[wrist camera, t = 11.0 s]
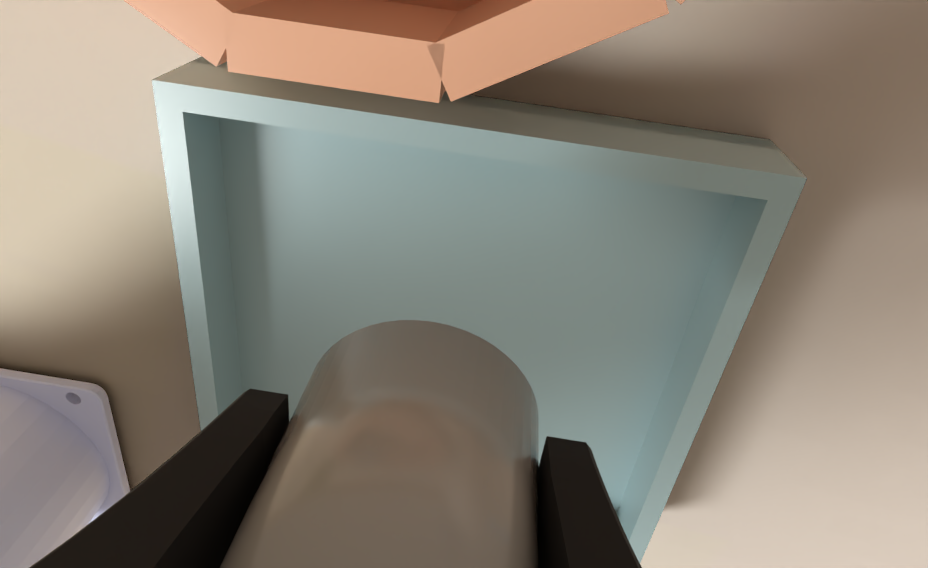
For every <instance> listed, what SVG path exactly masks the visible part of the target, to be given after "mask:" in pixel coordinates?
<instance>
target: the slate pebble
mask: <svg viewBox="0 0 928 568" xmlns="http://www.w3.org/2000/svg"><path fill="white" fill-rule="evenodd" d="M220 568H539V418H538V407H537V402H536V398H535V396H534V393H533V390H532V388H531V386H530V384H529V382H528V381H527V379H526V377H525V375H524V374H523V373H522V372H521V370H520V369H519V368H518V366H517V365H516V364H515V363H514V362H513V361H512V360H511V359H510V358H509V357H508V356H507V355H506V354H504V353H503V352H502V351H500V350H499V349H498V348H497V347H495V346H494V345H492V344H491V343H489V342H487V341H486V340H484V339H482V338H481V337H479V336H476V335H474V334H472V333H470V332H468V331H465V330H462V329H459V328H456V327H453V326H450V325H446V324H441V323H436V322H431V321H421V320H397V321H388V322H382V323H378V324H374V325H370V326H367V327H364V328H362V329H359V330H356V331H354V332H352V333H350V334H349V335H347V336H345V337H343V338H342V339H340V340H339V341H338V342H336V343H335V344H334V345H332V346H331V347H330V348H329V350H328V351H327V352H326V353H325V354H324V355H323V356H322V358H321V359H320V360H319V362H318V363H317V365H316V367H315V369H314V371H313V373H312V375H311V377H310V380H309V382H308V384H307V386H306V388H305V390H304V392H303V394H302V396H301V398H300V400H299V403H298V405H297V407H296V409H295V411H294V413H293V415H292V417H291V419H290V421H289V423H288V426H287V428H286V430H285V432H284V434H283V436H282V438H281V440H280V442H279V444H278V446H277V449H276V451H275V453H274V455H273V457H272V459H271V461H270V463H269V465H268V467H267V470H266V472H265V474H264V476H263V478H262V480H261V482H260V484H259V486H258V488H257V490H256V493H255V495H254V497H253V499H252V501H251V503H250V505H249V507H248V509H247V511H246V513H245V516H244V518H243V520H242V522H241V524H240V526H239V528H238V530H237V532H236V534H235V536H234V539H233V541H232V543H231V545H230V547H229V549H228V551H227V553H226V555H225V557H224V559H223V562H222V564H221V566H220Z"/></svg>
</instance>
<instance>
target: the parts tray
mask: <svg viewBox="0 0 928 568" xmlns="http://www.w3.org/2000/svg"><path fill="white" fill-rule="evenodd" d="M152 85H153V92H154V99H155V107H156V114H157V121H158V128H159V135H160V142H161V150H162V157H163V164H164V171H165V178H166V185H167V193H168V200H169V207H170V214H171V221H172V228H173V236H174V243H175V250H176V257H177V264H178V271H179V279H180V286H181V293H182V300H183V307H184V314H185V322H186V329H187V336H188V343H189V350H190V357H191V365H192V372H193V379H194V386H195V393H196V400H197V408H198V415H199V422H200V429H201V431H202V430H203V429H204V428H205V427H206V426H207V425H208V424H210V423H211V422H212V421H213V420H214V419H215V418H216V417H217V416H218V415H220V414H221V413H222V412H223V411H224V410H225V409H226V408H227V407H228V406H229V405H231V404H232V403H233V402H234V401H235V400H236V399H237V398H238V397H239V396H240V395H242V394H243V393H244V392H245V391H247V390H249V389H257V390H263V391H269V392H275V393H281V394H288V402H289V421H290V419H291V417H292V415H293V413H294V411H295V409H296V407H297V405H298V403H299V400H300V398H301V396H302V394H303V392H304V390H305V388H306V386H307V384H308V382H309V380H310V377H311V375H312V373H313V371H314V369H315V367H316V365H317V363H318V362H319V360H320V359H321V358H322V356H323V355H324V354H325V353H326V352H327V351H328V350H329V348H330V347H331V346H332V345H334V344H335V343H336V342H338V341H339V340H340V339H342V338H343V337H345V336H347V335H349V334H350V333H352V332H354V331H356V330H359V329H362V328H364V327H367V326H370V325H374V324H378V323H382V322H388V321H397V320H421V321H431V322H436V323H441V324H446V325H450V326H453V327H456V328H459V329H462V330H465V331H468V332H470V333H472V334H474V335H476V336H479V337H481V338H482V339H484V340H486V341H487V342H489V343H491V344H492V345H494V346H495V347H497V348H498V349H499V350H500V351H502V352H503V353H504V354H506V355H507V356H508V357H509V358H510V359H511V360H512V361H513V362H514V363H515V364H516V365H517V366H518V368H519V369H520V370H521V372H522V373H523V374H524V375H525V377H526V379H527V381H528V382H529V384H530V386H531V388H532V390H533V393H534V396H535V398H536V402H537V407H538V418H539V463H540V460H541V456H542V452H543V448H544V444H545V440H546V437H547V436H549V437H556V438H562V439H568V440H574V441H580V442H586V443H587V444H588V446H589V447H590V448H591V450H592V453H593V456H594V458H595V461H596V464H597V467H598V469H599V472H600V475H601V477H602V480H603V482H604V485H605V487H606V490H607V492H608V495H609V497H610V500H611V502H612V504H613V507H614V509H615V511H616V514H617V516H618V518H619V521H620V523H621V525H622V527H623V529H624V532H625V534H626V536H627V538H628V540H629V543H630V545H631V547H632V549H633V551H634V553H635V555H636V557H637V559H638V561H639V563H640V562H641V560H642V557H643V555H644V553H645V550H646V548H647V546H648V544H649V541H650V539H651V537H652V534H653V532H654V530H655V527H656V525H657V523H658V521H659V518H660V516H661V514H662V511H663V509H664V507H665V504H666V502H667V500H668V498H669V495H670V493H671V491H672V488H673V486H674V484H675V481H676V479H677V477H678V475H679V472H680V470H681V468H682V465H683V463H684V461H685V458H686V456H687V454H688V452H689V449H690V447H691V445H692V442H693V440H694V438H695V435H696V433H697V431H698V429H699V426H700V424H701V422H702V419H703V417H704V415H705V412H706V410H707V408H708V406H709V403H710V401H711V399H712V396H713V394H714V392H715V389H716V387H717V385H718V383H719V380H720V378H721V376H722V373H723V371H724V369H725V366H726V364H727V362H728V360H729V357H730V355H731V353H732V350H733V348H734V346H735V343H736V341H737V339H738V337H739V334H740V332H741V330H742V327H743V325H744V323H745V320H746V318H747V316H748V314H749V311H750V309H751V307H752V304H753V302H754V300H755V297H756V295H757V293H758V291H759V288H760V286H761V284H762V281H763V279H764V277H765V274H766V272H767V270H768V268H769V265H770V263H771V261H772V258H773V256H774V254H775V251H776V249H777V247H778V245H779V242H780V240H781V238H782V235H783V233H784V231H785V228H786V226H787V224H788V222H789V219H790V217H791V215H792V212H793V210H794V208H795V205H796V203H797V201H798V199H799V196H800V194H801V192H802V189H803V187H804V185H805V182H806V180H807V178H806V176H805V175H804V174H803V173H802V172H801V171H800V170H799V169H798V168H797V167H796V166H795V165H794V164H793V163H792V162H791V161H790V160H789V159H788V158H787V157H786V156H785V155H784V154H783V152H782V151H781V150H780V149H779V148H778V147H777V146H776V145H775V144H774V143H773V142H772V141H771V140H769V139H763V138H756V137H749V136H743V135H736V134H729V133H722V132H716V131H709V130H702V129H696V128H689V127H682V126H675V125H669V124H662V123H655V122H649V121H642V120H635V119H628V118H622V117H615V116H608V115H602V114H595V113H588V112H581V111H575V110H568V109H561V108H555V107H548V106H541V105H534V104H528V103H521V102H514V101H508V100H501V99H494V98H487V97H481V96H474V95H466V96H464V97H461V98H459V99H457V100H454V101H452V102H451V101H450V99H449V96H448V94H447V92H446V91H445V92H444V94H443V96H442V98H441V100H440V102H439V103H434V102H428V101H421V100H414V99H408V98H401V97H394V96H388V95H381V94H374V93H367V92H361V91H354V90H347V89H341V88H334V87H327V86H321V85H314V84H307V83H301V82H294V81H287V80H280V79H274V78H267V77H260V76H254V75H247V74H240V73H234V72H228V66H227V62H225V63H223V64H221V65H219V66H217V67H216V66H215V65H213V64H212V63H210V62H209V61H208V60H206V59H205V58H203V57H200V58H198V59H196V60H193V61H191V62H189V63H187V64H185V65H183V66H181V67H178V68H176V69H174V70H172V71H170V72H168V73H165V74H163V75H161V76H159V77H157V78H155V79H153V80H152Z"/></svg>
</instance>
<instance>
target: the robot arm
mask: <svg viewBox="0 0 928 568" xmlns="http://www.w3.org/2000/svg"><path fill="white" fill-rule="evenodd" d="M288 423H289V402H288V394H281V393H275V392H269V391H263V390H257V389H249V390H247V391H245V392H244V393H243V394H242V395H240V396H239V397H238V398H237V399H236V400H235V401H234V402H233V403H232V404H231V405H229V406H228V407H227V408H226V409H225V410H224V411H223V412H222V413H221V414H220V415H218V416H217V417H216V418H215V419H214V420H213V421H212V422H211V423H210V424H208V425H207V426H206V427H205V428H204V429H203V430H202V431H201V432H200V433H198V434H197V435H196V436H195V437H194V438H193V439H192V440H190V441H189V442H188V443H187V444H186V445H185V446H184V447H182V448H181V449H180V450H179V451H178V452H177V453H176V454H174V455H173V456H172V457H171V458H170V459H168V460H167V461H166V462H165V463H164V464H162V465H161V466H160V467H159V468H158V469H157V470H155V471H154V472H153V473H152V474H151V475H149V476H148V477H147V478H146V479H145V480H143V481H142V482H141V483H140V484H139V485H137V486H136V487H135V488H134V489H133V490H131V491H130V488H129V484H128V479H127V475H126V471H125V467H124V463H123V458H122V454H121V450H120V446H119V442H118V437H117V433H116V429H115V425H114V421H113V416H112V412H111V408H110V404H109V400H108V396H107V394H106V392H105V390H104V389H103V388H102V387H100V386H98V385H96V384H93V383H88V382H82V381H75V380H69V379H63V378H57V377H51V376H45V375H38V374H32V373H26V372H20V371H14V370H8V369H2V368H0V568H220V566H221V564H222V562H223V559H224V557H225V555H226V553H227V551H228V549H229V547H230V545H231V543H232V541H233V539H234V536H235V534H236V532H237V530H238V528H239V526H240V524H241V522H242V520H243V518H244V516H245V513H246V511H247V509H248V507H249V505H250V503H251V501H252V499H253V497H254V495H255V493H256V490H257V488H258V486H259V484H260V482H261V480H262V478H263V476H264V474H265V472H266V470H267V467H268V465H269V463H270V461H271V459H272V457H273V455H274V453H275V451H276V449H277V446H278V444H279V442H280V440H281V438H282V436H283V434H284V432H285V430H286V428H287V426H288ZM539 568H642V567H641V565H640V563H639V561H638V559H637V557H636V555H635V553H634V551H633V549H632V547H631V545H630V543H629V540H628V538H627V536H626V534H625V532H624V529H623V527H622V525H621V523H620V521H619V518H618V516H617V514H616V511H615V509H614V507H613V504H612V502H611V500H610V497H609V495H608V492H607V490H606V487H605V485H604V482H603V480H602V477H601V475H600V472H599V469H598V467H597V464H596V461H595V458H594V456H593V453H592V450H591V448H590V447H589V446H588V444H587V443H586V442H580V441H574V440H568V439H562V438H556V437H549V436H547V437H546V440H545V444H544V448H543V452H542V456H541V460H540V463H539Z"/></svg>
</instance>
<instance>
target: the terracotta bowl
mask: <svg viewBox="0 0 928 568" xmlns="http://www.w3.org/2000/svg"><path fill="white" fill-rule="evenodd" d="M124 1H125V2H127V3H128V4H129V5H131V6H132V7H134V8H135V9H136V10H138V11H139V12H141V13H142V14H143V15H145V16H146V17H148V18H149V19H150V20H152V21H153V22H155V23H156V24H157V25H159V26H160V27H161V28H163V29H164V30H166V31H167V32H168V33H170V34H171V35H173V36H174V37H175V38H177V39H178V40H180V41H181V42H182V43H184V44H185V45H187V46H188V47H189V48H191V49H192V50H194V51H195V52H196V53H198V54H199V55H201V56H202V57H203V58H205V59H206V60H208V61H209V62H210V63H212V64H213V65H215V66H216V67H217V66H219V65H221V64H223V63H225V62H227V66H228V72H234V73H240V74H247V75H254V76H260V77H267V78H274V79H280V80H287V81H294V82H301V83H307V84H314V85H321V86H327V87H334V88H341V89H347V90H354V91H361V92H367V93H374V94H381V95H388V96H394V97H401V98H408V99H414V100H421V101H428V102H434V103H439V102H440V100H441V98H442V96H443V94H444V92H445V90H446V92H447V94H448V96H449V99H450V101H451V102H452V101H454V100H457V99H459V98H461V97H464V96H466V95H469V94H471V93H474V92H476V91H479V90H481V89H484V88H486V87H489V86H491V85H493V84H496V83H498V82H501V81H503V80H506V79H508V78H511V77H513V76H516V75H518V74H521V73H523V72H525V71H528V70H530V69H533V68H535V67H538V66H540V65H543V64H545V63H548V62H550V61H553V60H555V59H557V58H560V57H562V56H565V55H567V54H570V53H572V52H575V51H577V50H580V49H582V48H585V47H587V46H589V45H592V44H594V43H597V42H599V41H602V40H604V39H607V38H609V37H612V36H614V35H617V34H619V33H621V32H624V31H626V30H629V29H631V28H634V27H636V26H639V25H641V24H644V23H646V22H649V21H651V20H653V19H656V18H658V17H661V16H663V15H666V14H668V13H669V12H668V8H667V4H666V0H124ZM676 1H677V2H678V3H680V4H682V3H683V2H684V1H685V0H676Z"/></svg>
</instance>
